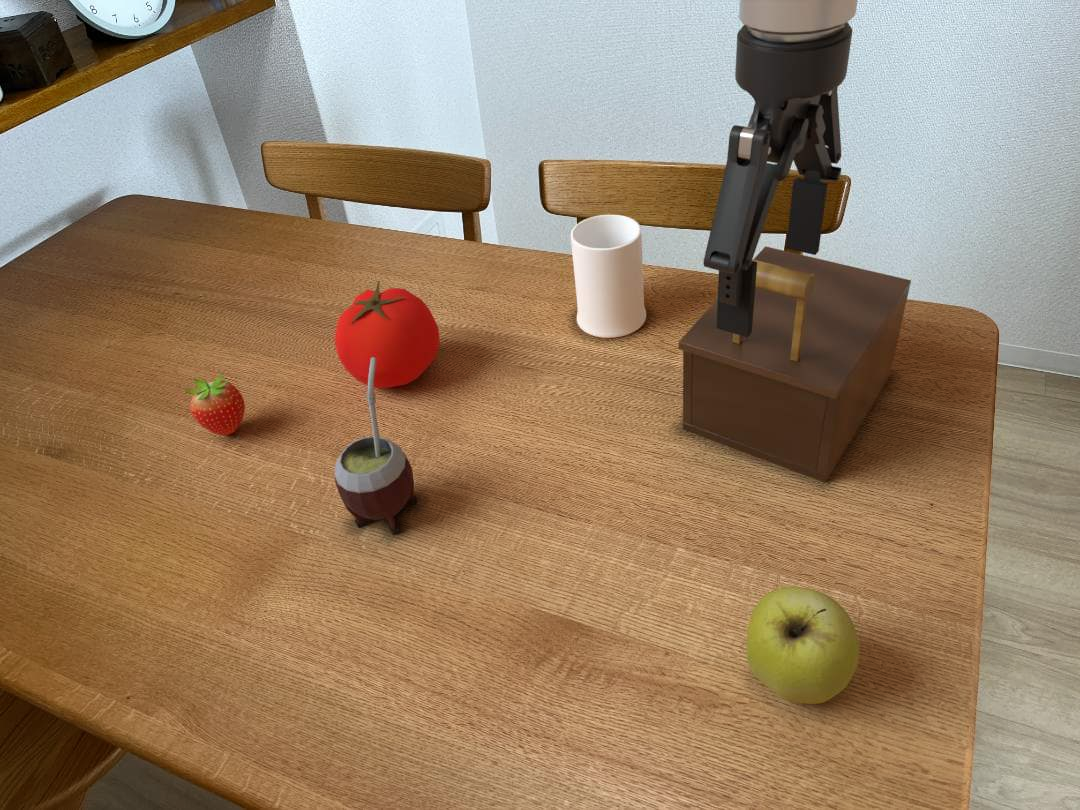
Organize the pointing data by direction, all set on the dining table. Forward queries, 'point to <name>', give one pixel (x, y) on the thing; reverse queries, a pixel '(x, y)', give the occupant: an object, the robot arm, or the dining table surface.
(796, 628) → the apple
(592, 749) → the dining table surface
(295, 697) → the dining table surface
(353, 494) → the mate gourd
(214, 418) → the fruit
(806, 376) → the lid
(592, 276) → the mug
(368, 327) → the tomato
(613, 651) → the dining table surface
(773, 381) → the chest
